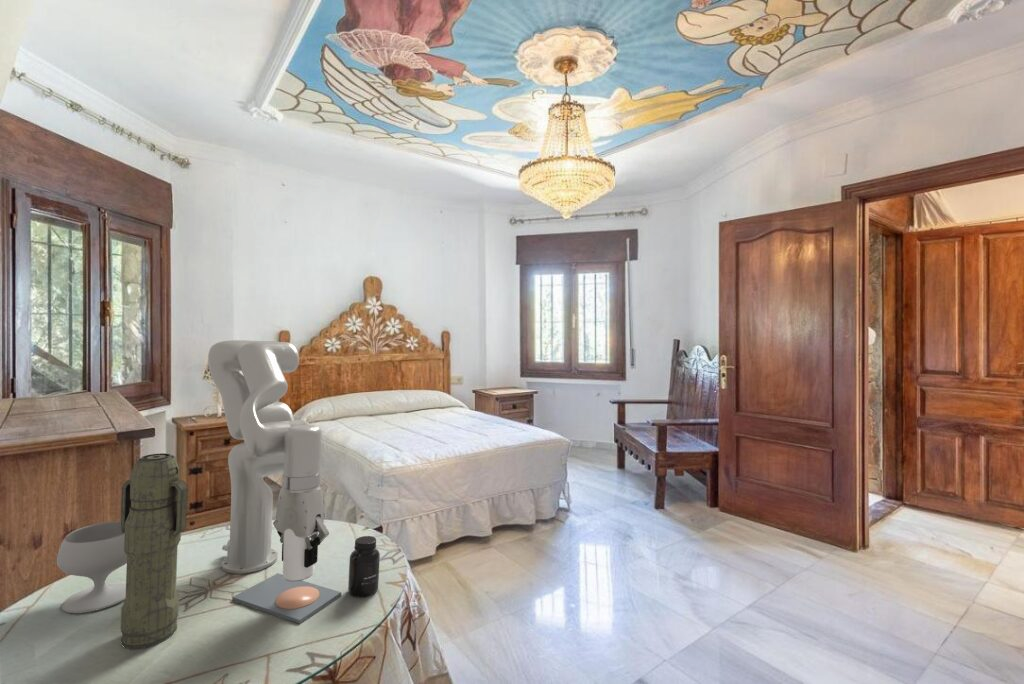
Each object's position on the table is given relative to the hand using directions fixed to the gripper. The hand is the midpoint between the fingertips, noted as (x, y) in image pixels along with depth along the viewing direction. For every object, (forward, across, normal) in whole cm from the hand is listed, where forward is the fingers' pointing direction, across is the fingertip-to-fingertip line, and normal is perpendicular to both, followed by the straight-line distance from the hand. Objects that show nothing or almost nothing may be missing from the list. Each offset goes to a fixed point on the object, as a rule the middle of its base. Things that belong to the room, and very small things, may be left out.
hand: (299, 561), depth 105 cm
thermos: (+9, -16, -21) cm, 28 cm away
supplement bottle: (+9, +10, +10) cm, 17 cm away
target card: (+9, -3, 0) cm, 10 cm away
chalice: (+9, -39, -18) cm, 44 cm away
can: (+3, 0, 0) cm, 3 cm away
